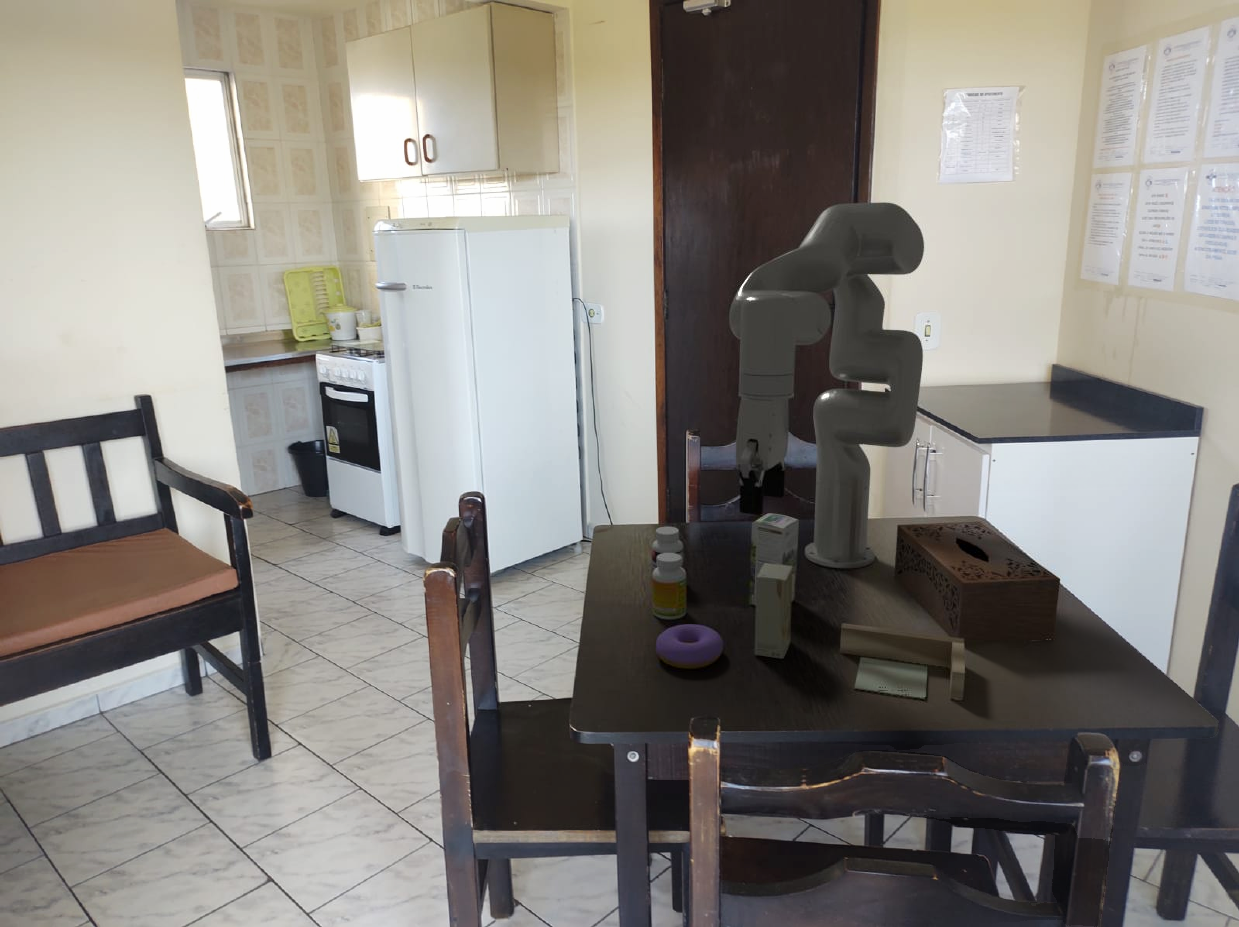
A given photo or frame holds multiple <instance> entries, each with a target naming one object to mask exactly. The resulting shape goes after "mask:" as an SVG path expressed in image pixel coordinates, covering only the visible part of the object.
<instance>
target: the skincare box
mask: <svg viewBox="0 0 1239 927" xmlns="http://www.w3.org/2000/svg"><path fill="white" fill-rule="evenodd" d="M791 597H792V566H787V565H778V564H770V563H764V565H763V566H762V568H761V569H760V571H759V573H758V575H757V577H756V606H755V617H754V618H755V622H754V624H755V626H754V629H755V630H754V632H755V633H754V655H755V656H761V657H766V658H767V657H769V658H774V659H775V658H776V659H784V658H785V656H786V654H787V652H788V649H789V646H790V644H791V632H792V631H791V629H792V628H791V627H792V626H791V625H792V622H791V620H792V602H791Z"/></svg>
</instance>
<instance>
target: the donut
mask: <svg viewBox="0 0 1239 927" xmlns="http://www.w3.org/2000/svg"><path fill="white" fill-rule="evenodd" d="M723 649H724V641H723V639H722V636H721V635H720V634H719V633H718V632H717V631H715V630H714V629H713V628H711V627H708V626H705V625H702V624H694V623H693V624H692V623H690V624H689V623H688V624H679V625H678V624H677V625H675V626H672V627H669V628H666V629H665V630H664V631H663V632H662V633H661V634H659V635H658V637H657V638H656V642H655V652H656V654H657V655H658V657H659V659H660V660H662V662H664V663H665V664H666V665H669V666H671V667H673V668H678V669H683V670H684V669H686V670H692V669H693V670H695V669H701V668H705V667H708V666H709V665H711V664H714V663H715V662H717V660H718V659H719V658H720V656H721V655H722V652H723Z"/></svg>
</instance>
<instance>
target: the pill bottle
mask: <svg viewBox="0 0 1239 927" xmlns="http://www.w3.org/2000/svg"><path fill="white" fill-rule="evenodd" d="M655 539H656V540H654V542H653V543H652V544H651V545H652V546H651V559H652V560H651V563H652V564H651V567H652V568H651V569H652V570H651V574H652V575H651V576H652V577H653V571H654V570H655V569H656V568H657V564H656V562H657V556H658V555H659V554H662V553H676V554H679V555H680V556H681V557H682V566H681V567H682V568H683V569H684V544H683V542H682V541H681V540H680V531H679V528H677V527H674V526H661V527H658V528H656V529H655ZM652 577H651V578H652ZM652 582H653V580H652Z"/></svg>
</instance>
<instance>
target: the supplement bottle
mask: <svg viewBox="0 0 1239 927" xmlns="http://www.w3.org/2000/svg"><path fill="white" fill-rule="evenodd" d="M656 564H657V568H656V569H655V570H654V571H653V577H651V578H652V580H653V581H652V613H653V615H654V616H656V618H659V619H662V620H670V621H671V620H677V619H678V620H679V619H681V618H682V617H683V618H684V616H685V615H686V613H687V572H686V570H685V568H684V567H683V568H682V567H681V566H682V557H681V556H680V555H679V554H676V553H662V554H659V555H658V556H657V562H656Z"/></svg>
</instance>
